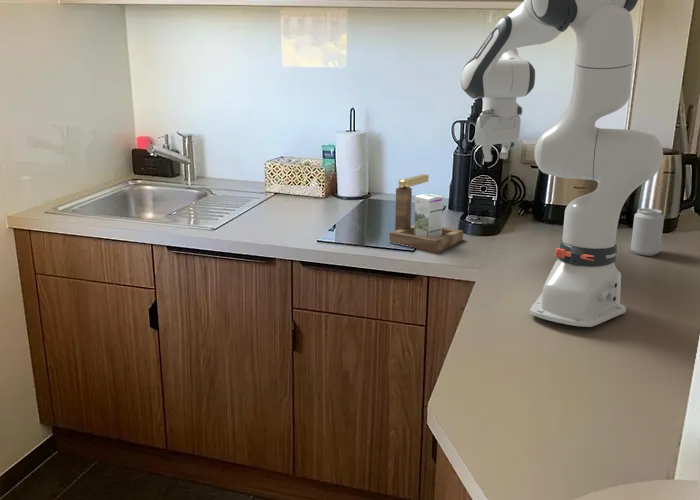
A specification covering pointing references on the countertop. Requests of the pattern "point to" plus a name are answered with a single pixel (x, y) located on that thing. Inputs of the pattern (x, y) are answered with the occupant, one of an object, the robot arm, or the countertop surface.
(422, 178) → the bar
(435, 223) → the syrup box
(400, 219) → the holder
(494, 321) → the countertop surface
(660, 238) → the can
